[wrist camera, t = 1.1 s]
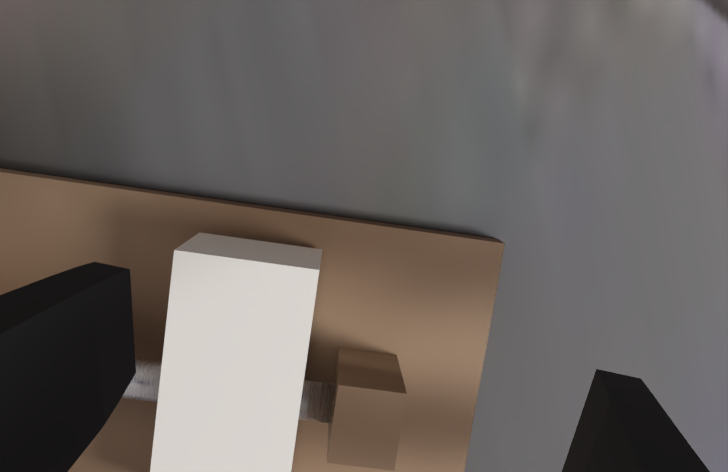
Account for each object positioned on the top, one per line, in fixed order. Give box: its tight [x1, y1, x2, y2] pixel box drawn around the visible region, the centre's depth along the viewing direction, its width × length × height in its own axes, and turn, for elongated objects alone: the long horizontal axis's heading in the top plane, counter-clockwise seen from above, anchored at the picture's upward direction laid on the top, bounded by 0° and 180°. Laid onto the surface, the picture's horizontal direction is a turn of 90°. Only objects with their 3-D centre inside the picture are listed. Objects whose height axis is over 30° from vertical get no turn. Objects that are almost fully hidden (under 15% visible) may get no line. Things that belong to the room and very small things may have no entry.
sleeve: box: [150, 232, 322, 472], centre depth 21 cm, size 9×4×3 cm, turn 172°
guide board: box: [0, 168, 505, 472], centre depth 21 cm, size 11×26×4 cm, turn 82°
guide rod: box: [122, 359, 336, 424], centre depth 20 cm, size 1×19×1 cm, turn 81°
